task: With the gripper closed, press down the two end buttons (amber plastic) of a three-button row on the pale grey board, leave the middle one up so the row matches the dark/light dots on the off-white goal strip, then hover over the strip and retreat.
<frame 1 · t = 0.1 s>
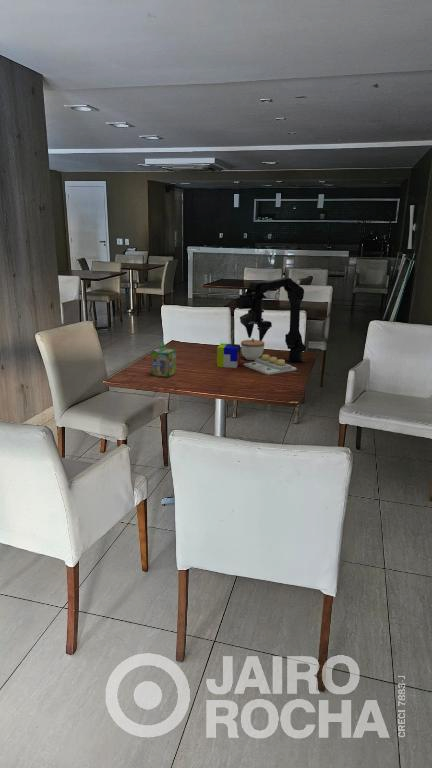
hand: (255, 339, 246), 15 cm above the table, fingers open, 9 cm apart
button mid: (273, 360, 251), point 4 cm above the table, slide at 0.0 cm
button 1: (265, 357, 255), point 4 cm above the table, slide at 0.0 cm
board: (269, 367, 251), on the table
lidded bowl: (252, 359, 269), on the table
puzzle toy: (228, 365, 255), on the table
button 2: (280, 362, 246), point 4 cm above the table, slide at 0.0 cm
green patterned box: (164, 374, 235), on the table
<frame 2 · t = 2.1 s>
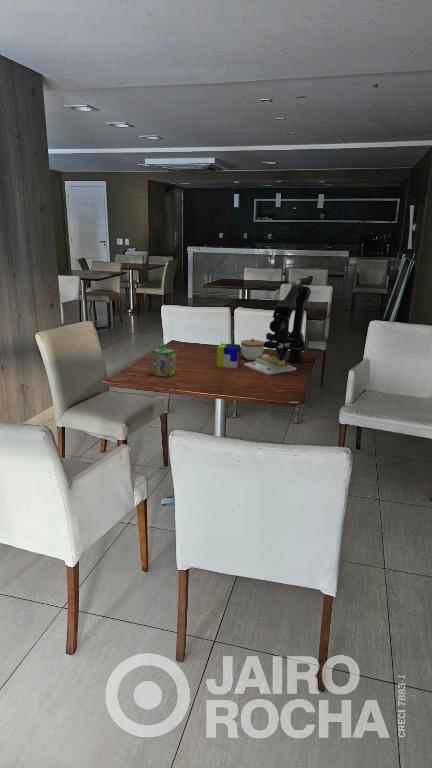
hand: (280, 360, 246), 5 cm above the table, fingers closed, pressing on button 2
button 2: (280, 363, 246), point 4 cm above the table, slide at 0.2 cm, touching gripper
everything else where it was.
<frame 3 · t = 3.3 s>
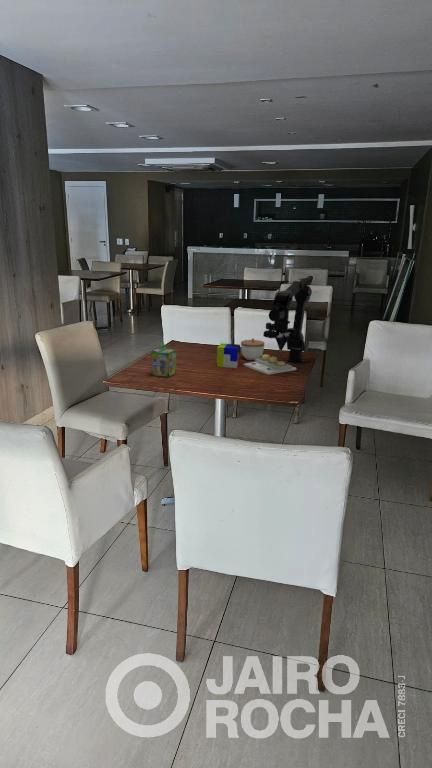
hand: (280, 350, 245), 10 cm above the table, fingers closed
button 2: (280, 364, 246), point 3 cm above the table, slide at 1.0 cm
everything else where it was.
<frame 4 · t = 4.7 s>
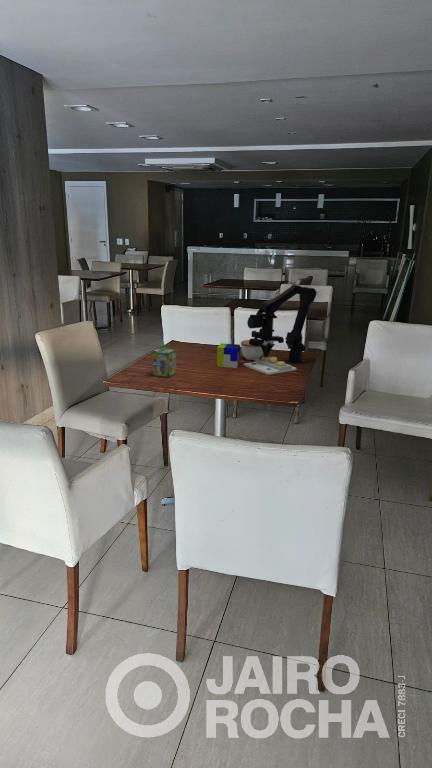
hand: (265, 357, 255), 4 cm above the table, fingers closed, pressing on button 1
button 1: (265, 359, 256), point 3 cm above the table, slide at 1.0 cm, touching gripper
everything else where it was.
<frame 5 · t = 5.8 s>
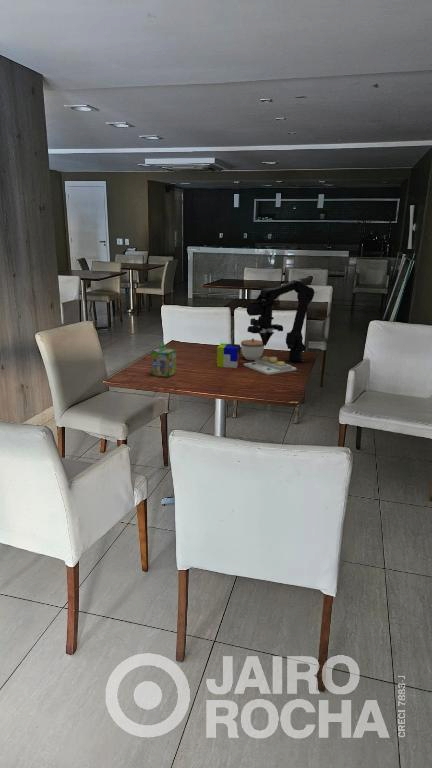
hand: (264, 345, 251), 11 cm above the table, fingers closed
button 1: (265, 359, 256), point 3 cm above the table, slide at 1.1 cm
everything else where it was.
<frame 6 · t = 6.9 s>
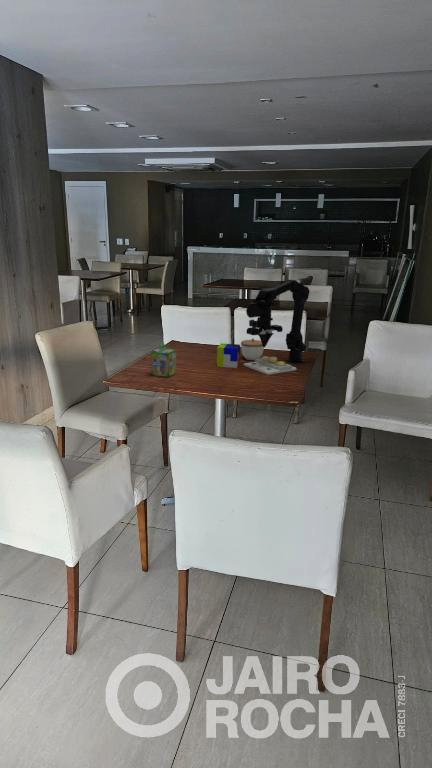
hand: (264, 346, 247), 11 cm above the table, fingers closed
nothing on the table moved.
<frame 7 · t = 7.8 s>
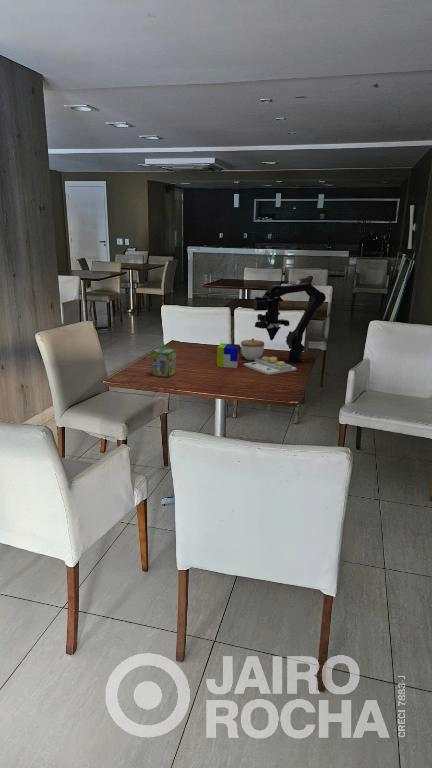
hand: (271, 340, 257), 12 cm above the table, fingers closed
nothing on the table moved.
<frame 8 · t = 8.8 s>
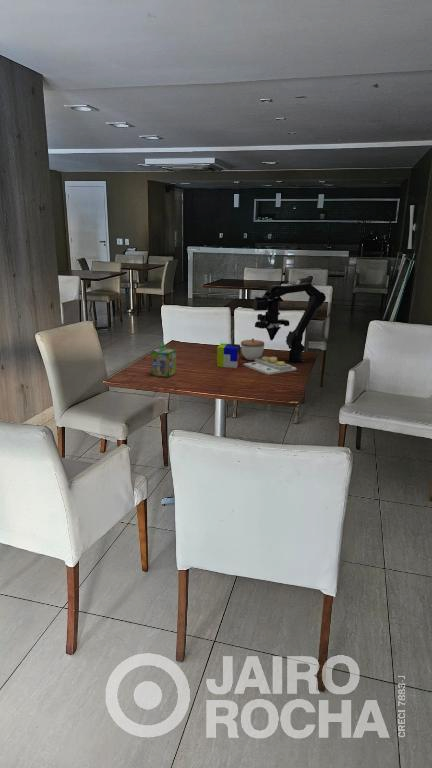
hand: (271, 340, 257), 12 cm above the table, fingers closed
nothing on the table moved.
at the end: button 2 slide at 1.0 cm; button 1 slide at 1.1 cm; button mid slide at 0.0 cm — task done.
